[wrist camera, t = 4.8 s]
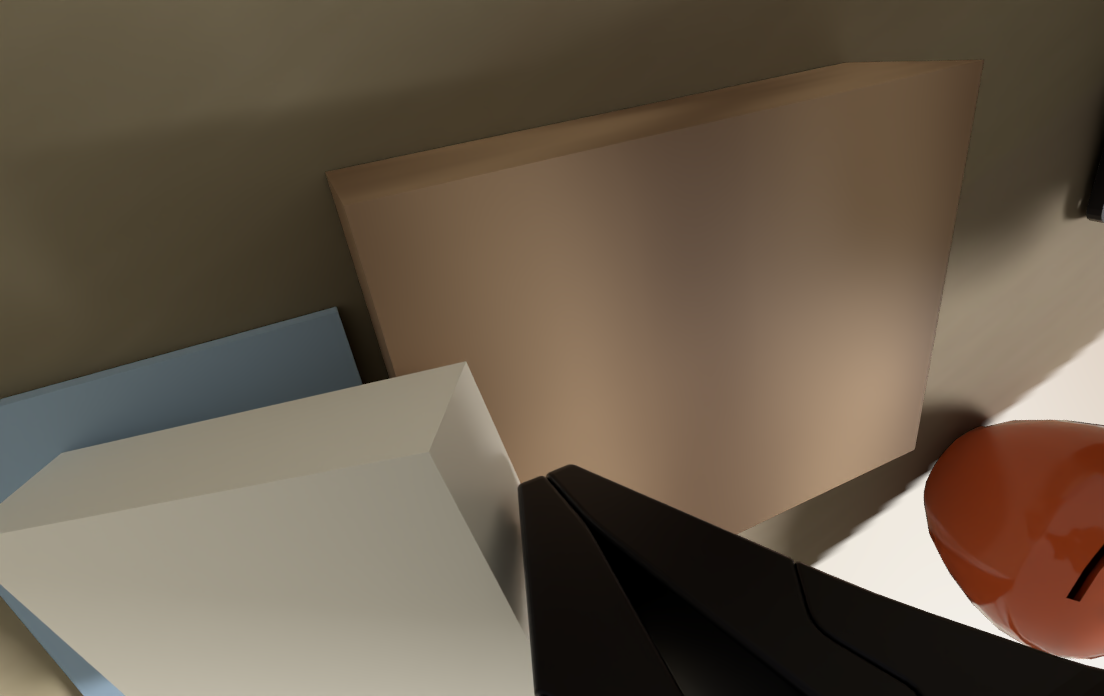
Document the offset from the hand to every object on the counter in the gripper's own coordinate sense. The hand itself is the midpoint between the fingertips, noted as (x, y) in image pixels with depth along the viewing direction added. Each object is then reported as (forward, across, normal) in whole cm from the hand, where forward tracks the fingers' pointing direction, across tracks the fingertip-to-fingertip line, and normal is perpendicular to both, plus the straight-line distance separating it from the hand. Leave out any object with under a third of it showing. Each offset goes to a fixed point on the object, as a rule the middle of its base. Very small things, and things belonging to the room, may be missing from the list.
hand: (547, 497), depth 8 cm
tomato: (+4, -17, +10) cm, 20 cm away
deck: (+4, -4, 0) cm, 6 cm away
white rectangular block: (+2, +3, +1) cm, 4 cm away
